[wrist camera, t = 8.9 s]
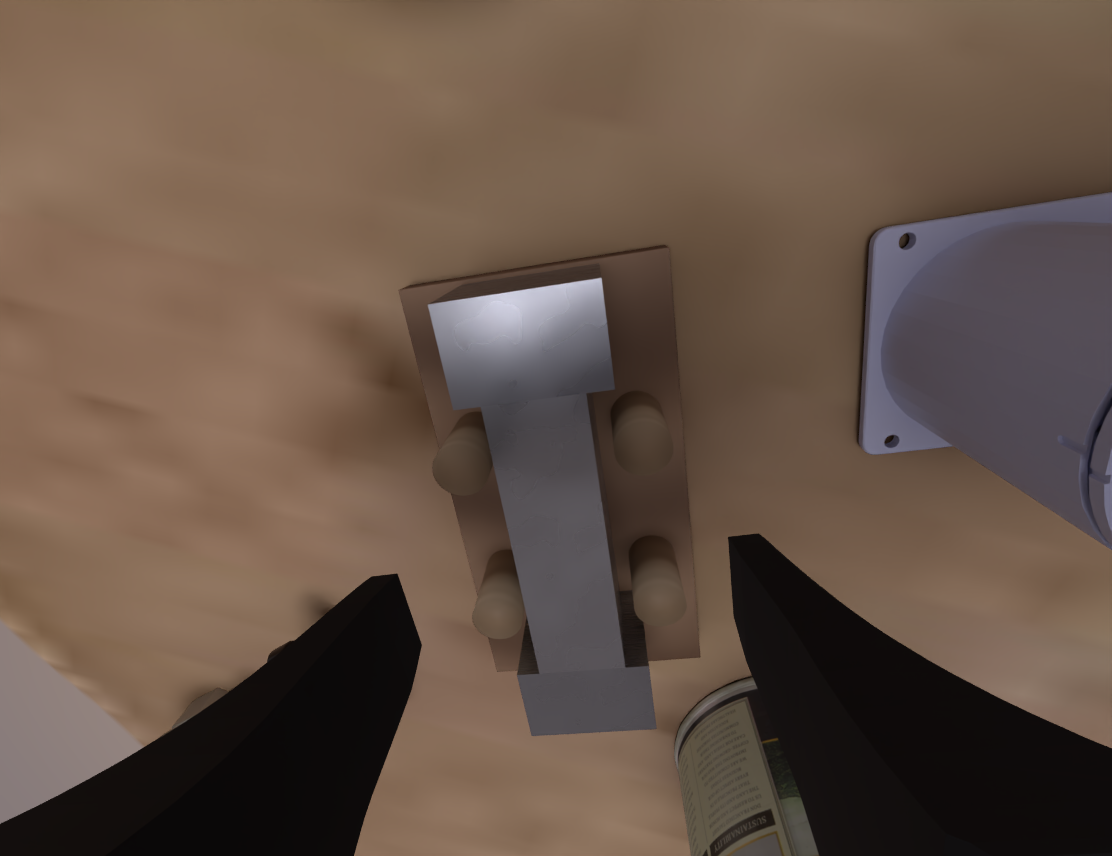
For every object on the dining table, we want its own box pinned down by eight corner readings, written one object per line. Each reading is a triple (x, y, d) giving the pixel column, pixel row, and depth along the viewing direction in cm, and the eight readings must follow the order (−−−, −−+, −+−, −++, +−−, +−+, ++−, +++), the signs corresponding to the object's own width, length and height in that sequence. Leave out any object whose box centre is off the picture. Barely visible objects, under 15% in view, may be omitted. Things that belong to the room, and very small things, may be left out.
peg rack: (409, 285, 19) (363, 304, 15) (664, 244, 18) (684, 254, 14) (501, 651, 25) (485, 731, 22) (695, 636, 24) (714, 718, 21)
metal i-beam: (461, 284, 18) (427, 304, 14) (599, 262, 17) (601, 277, 14) (541, 653, 24) (531, 736, 20) (646, 645, 23) (656, 728, 20)
